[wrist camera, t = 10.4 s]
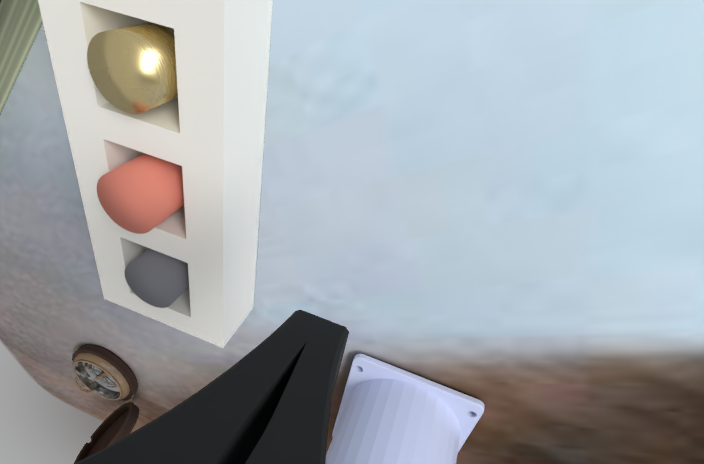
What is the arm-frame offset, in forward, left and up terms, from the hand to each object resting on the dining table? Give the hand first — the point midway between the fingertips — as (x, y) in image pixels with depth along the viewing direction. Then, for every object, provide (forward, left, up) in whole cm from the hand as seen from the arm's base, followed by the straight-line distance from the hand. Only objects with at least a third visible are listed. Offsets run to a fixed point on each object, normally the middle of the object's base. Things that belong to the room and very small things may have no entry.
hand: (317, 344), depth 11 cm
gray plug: (-8, +11, -10) cm, 17 cm away
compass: (-28, +20, -11) cm, 36 cm away
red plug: (-3, +11, -10) cm, 15 cm away
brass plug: (+3, +11, -10) cm, 15 cm away
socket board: (-3, +11, -10) cm, 15 cm away
